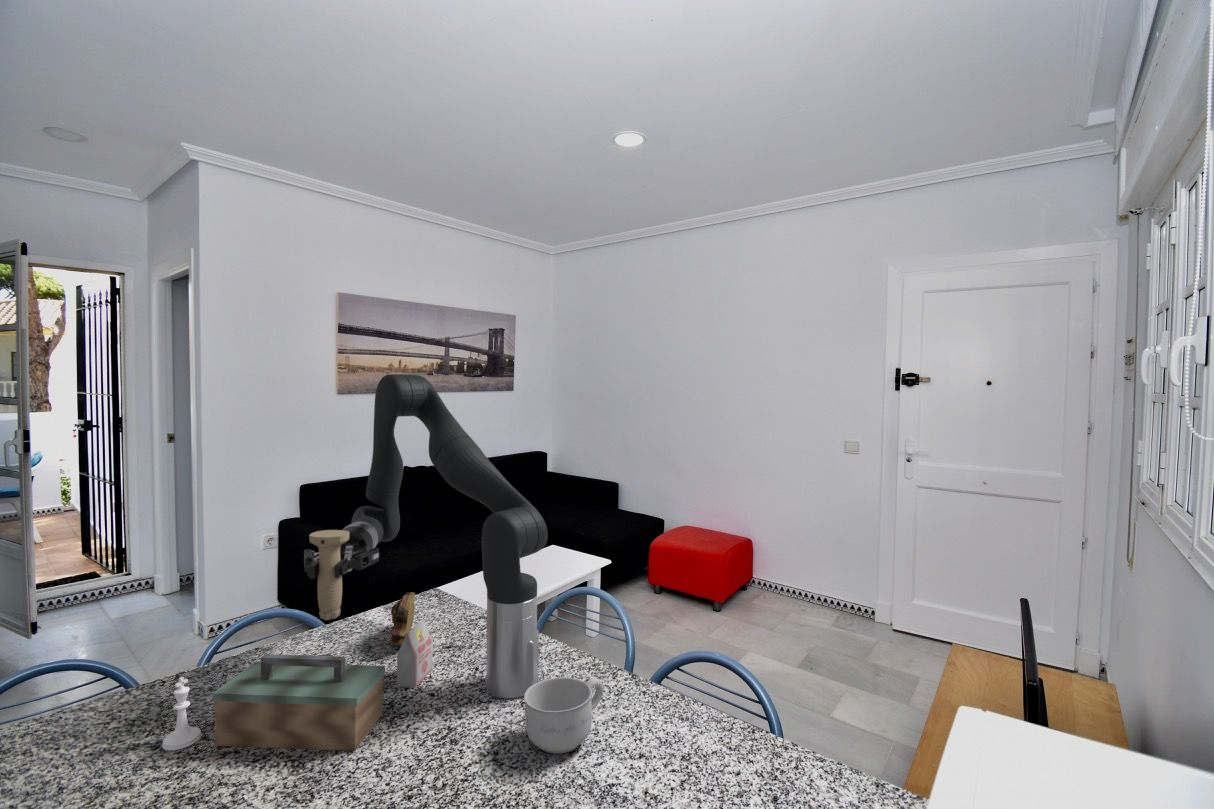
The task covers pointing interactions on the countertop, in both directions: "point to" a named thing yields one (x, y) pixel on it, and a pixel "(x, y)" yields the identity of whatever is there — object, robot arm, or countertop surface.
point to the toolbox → (299, 704)
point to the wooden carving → (402, 618)
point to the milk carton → (414, 656)
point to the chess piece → (181, 722)
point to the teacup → (560, 712)
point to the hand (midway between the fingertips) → (324, 572)
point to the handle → (329, 571)
